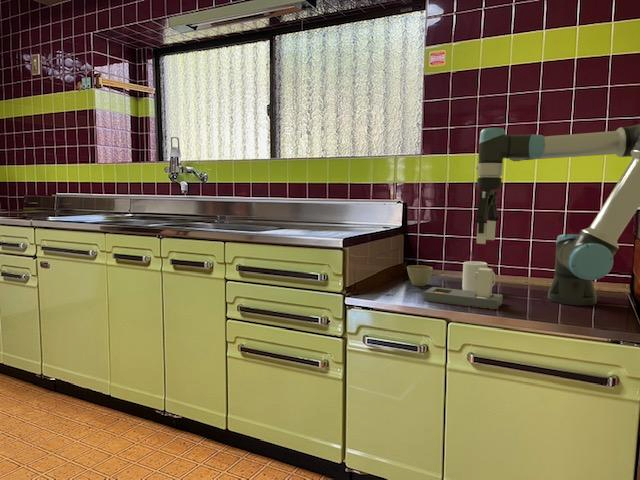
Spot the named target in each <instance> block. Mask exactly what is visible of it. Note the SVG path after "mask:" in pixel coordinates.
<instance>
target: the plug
mask: <svg viewBox="0 0 640 480" xmlns="http://www.w3.org/2000/svg"><path fill="white" fill-rule="evenodd" d="M493 272H494V268H490V267H488V268H479V269H478V272H475V280H477V297H484V298H492V294H493V287H492V284H493V278H494V276H493Z"/></svg>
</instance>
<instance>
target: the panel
mask: <svg viewBox="0 0 640 480" xmlns="http://www.w3.org/2000/svg"><path fill="white" fill-rule="evenodd" d="M503 297H504V296H503V294H501V293H492V298H484V297H477V292H474V291H465V290H463V289H455V288H454V289H453V288H446V287H437V286H432V287H429V288H428V289H427V290H425V291H423V301H425V302H432V303H433V302H434V303H441V304H448V305H449V304H450V305H457V306H464V307H471V306H472V307H473V308H479V307H480V308H482V309H486V308H489V309H488V310H494V309H497V308H498V307H499V306H501V305H502V304H503ZM472 307H471V308H472ZM499 308H500V307H499ZM499 308H498V309H499ZM498 309H497V310H498Z"/></svg>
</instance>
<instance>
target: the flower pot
mask: <svg viewBox="0 0 640 480" xmlns="http://www.w3.org/2000/svg"><path fill="white" fill-rule="evenodd" d="M406 270H407V274H408V278H409V280H410V282H411V284H412V285H413V286H416V287H425V286H426V285H427V284H428V283H429V280H430V279H431V276H432V273H433V270H434V269H433V266H428V265H408V266H406Z"/></svg>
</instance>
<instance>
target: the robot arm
mask: <svg viewBox="0 0 640 480" xmlns="http://www.w3.org/2000/svg"><path fill="white" fill-rule="evenodd" d="M478 141H479V143H478V159H477V160H478V164H477V165H478V166H476V170H477V175H478V176H479V177H477V180H476V181H477V182H476V188H477V189H478V190H480V189H481V190H483V191H479V199H478V205H477V211H476V217H475V219H474V223H476V224H477V227H476V242H475V243H476V244H478V245H479V244H480V245H486V243H487V241H495V240H496V226H497V225H496V224H497V221H499V219H500V218H499V216H498V201H497V200H498V199H497V195H498V193H497V191H495V190H501V189H502V183H503V179H502V178H501V177H502V176H503V166H504V162H503V161H504V159H509V160H510V161H512V162H520V161H532V160H547V159H560V158H561V159H562V158H574V157H575V158H576V157H577V158H578V157H591V156H593V157H594V156H595V157H596V156H606V155H607V156H608V155H611V156H612V155H615V156H617V157H618V158H624V157H625V158H626V157H631V161H630V162H629V163H628V166H627V167H626V169H625V170H624V172H623V173H622V174H621V177H620V178H619V180H618V181H617V183H616V185H615V186H614V188H613V189H612V190H611V193H610V194H609V196H608V197H607V198H606V200H605V202H604V203H603V205H602V207H601V208H600V210H599V212H598V213H597V215H596V216H595V218H594V219H593V221H592V223H591V224H590V225H589V226H588V227H587V228H584V229H581V230H580V231H579V233H578V234H572V233H571V234H569V233H568V234H559V235H557V238H556V242H555V246H556V247H555V261H554V264H555V265H554V276H553V279H552V282H551V285H550V287H549V289H548V292H547V299H548V301H552V302H554V303H558V304H564V305H569V306H582V307H583V306H594V305H596V304H597V301H598V297H597V292H596V289H595V286H594V282H593V281H595V280H600V279H602V278H605V276H607V275H608V274H609V273H610V272H611V270H612V269H613V266H614V256H615V255H616V253H617V251H618V250H619V248H620V247H619V243H618V240H619V238H620V236H621V235H622V233H623V232H624V231H625V229H626V227H628V225H629V223H630V222H631V220H632V218H633V216H634V215H635V214H636V212H637V211H638V209H639V207H640V124H635V125H631V126H622V127H618V128H617V129H616V130H612V131H601V132H600V131H599V132H597V131H596V132H587V133H586V132H585V133H574V134H561V135H559V134H558V135H549V136H547V135H546V136H544V135H542V134H534V133H532V134H506V132H505V129H504V128H503V127H502V128H501V127H487V128H483V129H482V130H481V131H480V133H479V140H478Z"/></svg>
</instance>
